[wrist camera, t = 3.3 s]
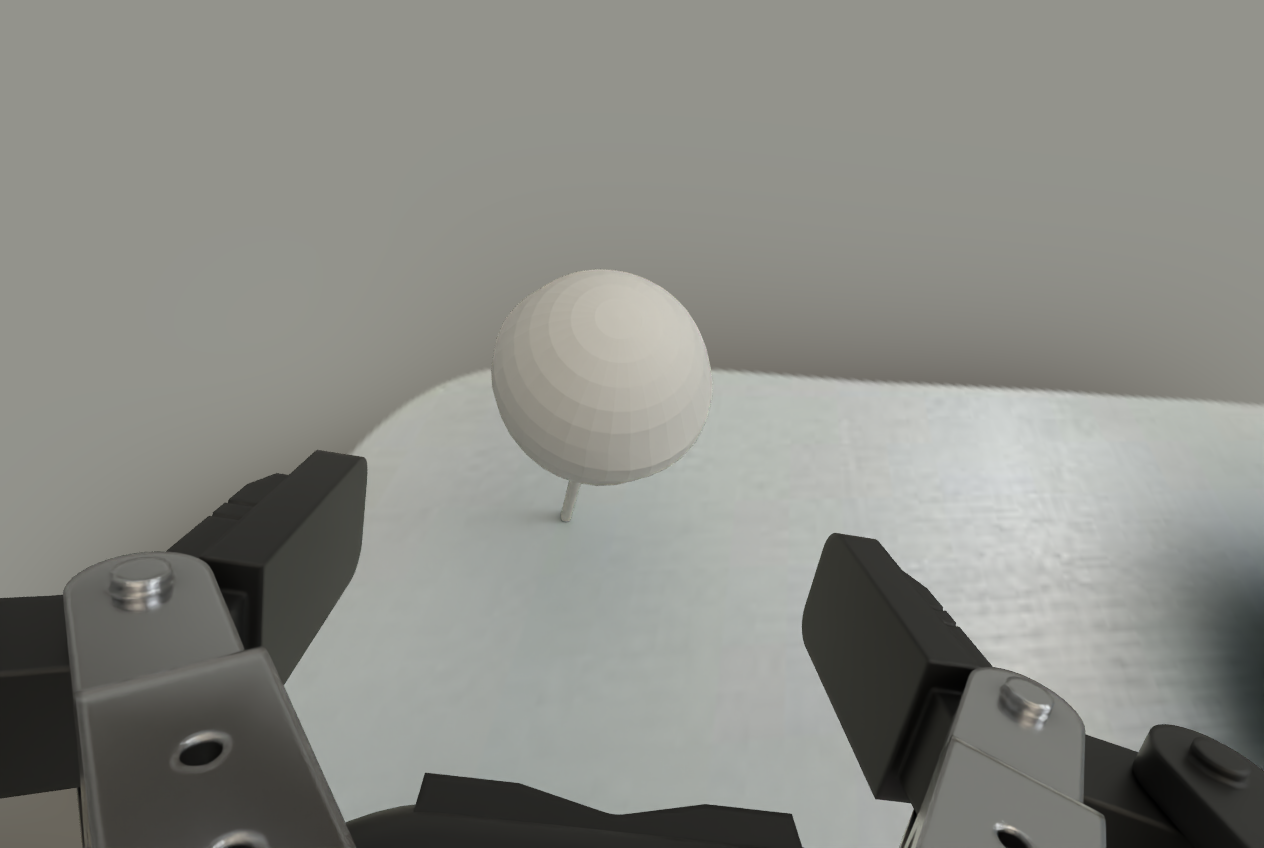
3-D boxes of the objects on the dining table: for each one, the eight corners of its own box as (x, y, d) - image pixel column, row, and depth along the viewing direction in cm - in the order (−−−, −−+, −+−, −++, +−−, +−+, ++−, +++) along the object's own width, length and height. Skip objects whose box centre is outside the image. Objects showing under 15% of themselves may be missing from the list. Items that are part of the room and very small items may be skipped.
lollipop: (663, 523, 30) (790, 336, 17) (565, 618, 28) (624, 486, 14) (566, 427, 31) (614, 182, 18) (464, 509, 29) (434, 296, 16)
